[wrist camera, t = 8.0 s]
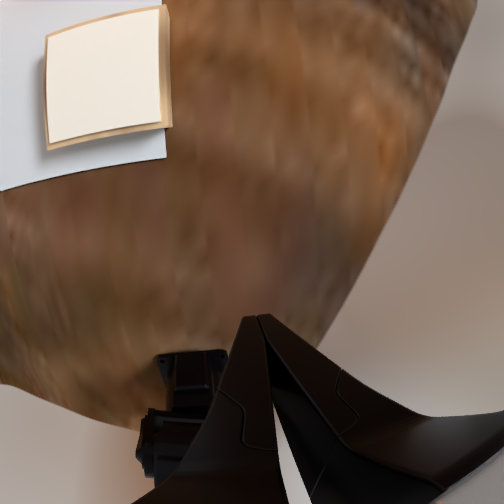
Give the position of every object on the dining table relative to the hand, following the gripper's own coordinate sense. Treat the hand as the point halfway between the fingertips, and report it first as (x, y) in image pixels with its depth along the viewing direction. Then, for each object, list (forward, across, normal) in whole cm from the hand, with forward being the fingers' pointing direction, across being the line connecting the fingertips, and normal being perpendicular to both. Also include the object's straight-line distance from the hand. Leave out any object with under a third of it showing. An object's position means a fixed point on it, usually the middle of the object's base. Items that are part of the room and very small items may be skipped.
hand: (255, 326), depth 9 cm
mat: (+13, +12, -13) cm, 22 cm away
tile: (+12, +3, -10) cm, 16 cm away
